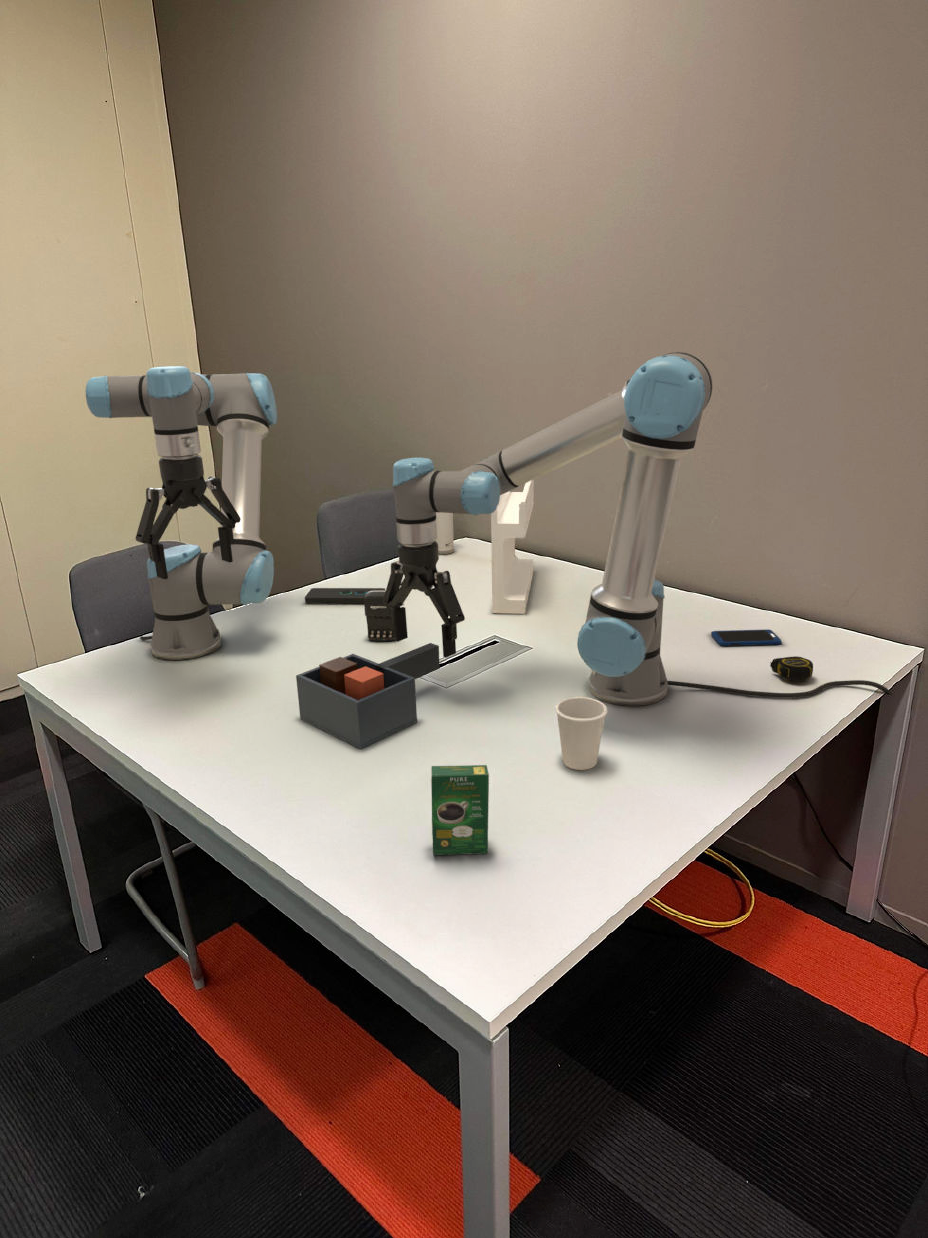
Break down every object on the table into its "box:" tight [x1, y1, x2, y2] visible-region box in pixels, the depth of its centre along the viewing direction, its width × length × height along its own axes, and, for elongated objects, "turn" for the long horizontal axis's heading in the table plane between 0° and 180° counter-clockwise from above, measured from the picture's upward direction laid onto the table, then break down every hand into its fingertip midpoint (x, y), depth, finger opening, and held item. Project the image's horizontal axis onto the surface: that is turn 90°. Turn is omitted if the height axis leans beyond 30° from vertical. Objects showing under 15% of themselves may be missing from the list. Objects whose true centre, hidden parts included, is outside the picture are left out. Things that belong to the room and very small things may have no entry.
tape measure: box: [769, 655, 814, 682], centre depth 171 cm, size 7×7×4 cm
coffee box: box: [430, 764, 490, 856], centre depth 119 cm, size 8×3×13 cm, turn 92°
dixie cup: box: [555, 696, 608, 771], centre depth 141 cm, size 8×8×10 cm
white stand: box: [490, 479, 535, 615], centre depth 222 cm, size 35×8×28 cm, turn 172°
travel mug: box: [435, 512, 455, 555], centre depth 260 cm, size 6×7×20 cm
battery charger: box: [363, 590, 395, 642], centre depth 195 cm, size 7×4×11 cm, turn 86°
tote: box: [295, 642, 441, 750], centre depth 162 cm, size 27×18×9 cm, turn 137°
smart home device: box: [304, 587, 386, 605], centre depth 224 cm, size 8×2×20 cm
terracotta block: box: [344, 666, 384, 700], centre depth 154 cm, size 5×5×10 cm
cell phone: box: [710, 629, 782, 647], centre depth 191 cm, size 7×14×1 cm, turn 91°
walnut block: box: [318, 656, 358, 695], centre depth 159 cm, size 5×5×10 cm
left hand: (195, 569), depth 161 cm, fingers open, 13 cm apart
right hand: (425, 647), depth 167 cm, fingers open, 13 cm apart
